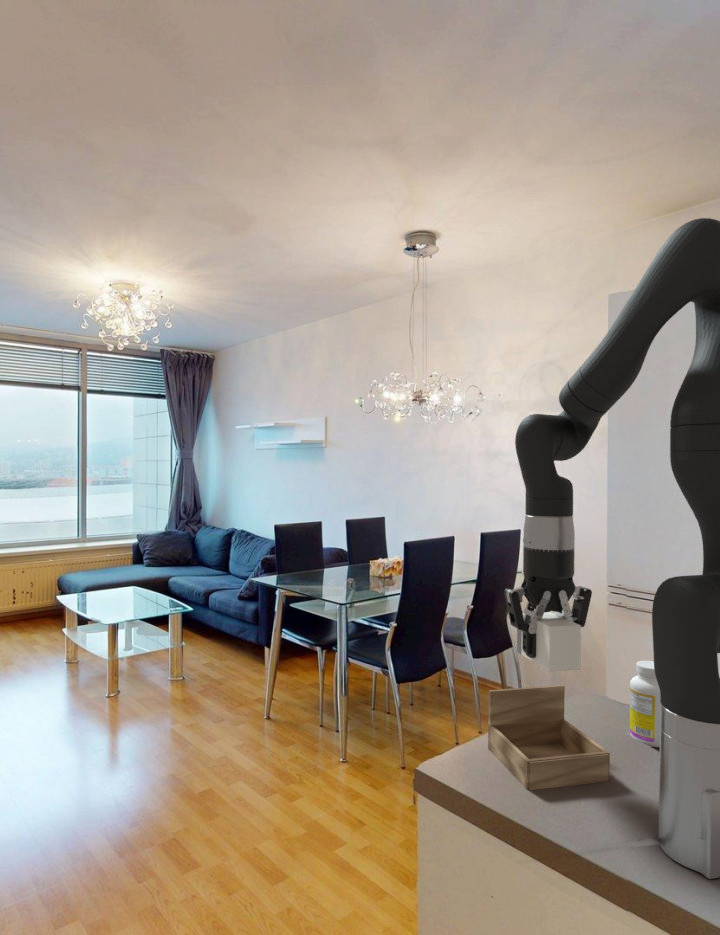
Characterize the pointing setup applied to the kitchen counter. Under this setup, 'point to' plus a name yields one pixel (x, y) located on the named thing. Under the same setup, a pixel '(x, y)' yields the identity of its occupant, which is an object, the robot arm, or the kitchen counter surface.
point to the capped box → (555, 643)
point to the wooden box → (542, 739)
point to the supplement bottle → (645, 705)
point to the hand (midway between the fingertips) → (547, 655)
